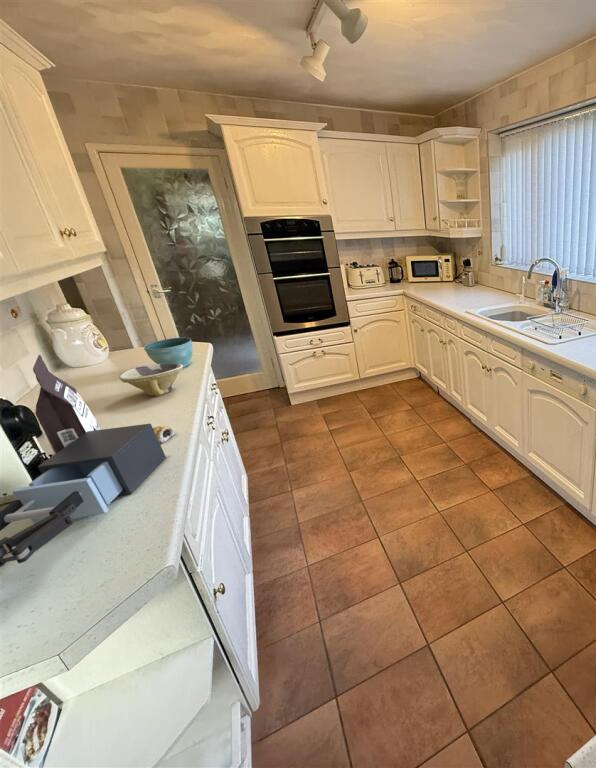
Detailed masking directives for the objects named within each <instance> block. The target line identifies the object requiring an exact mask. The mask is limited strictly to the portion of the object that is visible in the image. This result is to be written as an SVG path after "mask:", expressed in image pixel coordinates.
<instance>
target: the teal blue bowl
mask: <svg viewBox="0 0 596 768" xmlns="http://www.w3.org/2000/svg"><path fill="white" fill-rule="evenodd" d="M143 349H144V351H145V352H146V355H147V356H148V358H150V359H151V360H152V362H153V363H154V364H162V363H176V364H182V365H183V368H185V367H188V366H190V364H191V360H192V357H193V355H194V347H193V343H192V339H191V338H190V337H172V338H171V337H170V338H165V339H161V340H156V341H153V342H149V343H147V344H146V345H144V346H143Z"/></svg>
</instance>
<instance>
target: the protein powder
mask: <svg viewBox="0 0 596 768" xmlns="http://www.w3.org/2000/svg"><path fill="white" fill-rule="evenodd" d="M32 372H33V373H34V375H35V379H36V381H37V383H38V385H39V387H40V389H39V394H38V398H37V401H36V404H35V416H36V419H37V420H38V422H39V424H40V426H41V428H42V429H43V431H44V435H45V436H46V439H47V441H48V444H49V445H50V448H51V450H52V451H53V455H55V454H56V453H57V452H59V451H60V450H62V449H63V448H65V447H66V446H67V445H69V444H70V443H72V442H73V441H75V440H76V439H77V438H79V437H80V436H82V435H83V434H85V433H86V432H87V431H95V430H102V428H101V426H100V425H99V422H98V421H97V419H96V418H95V416H94V414H93V413H92V411H91V409H90V408H89V406H88V405H87V404H86V402H85V401H84V399H83V398H82V396H81V395H80V394H79V393H78V390H77V388H75V387H74V386H72V385H70V384H69V383H68V382H66V381H65V380H63V379H61V378H60V377H57V375H55V374H53V373H52V372H51V371H49V368H48V367H47V364H46V363H45V361H44V360H43V357H42V355H41V354H38V356H37V358H36V360H35V363H34V365H33V367H32Z"/></svg>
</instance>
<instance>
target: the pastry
mask: <svg viewBox="0 0 596 768" xmlns="http://www.w3.org/2000/svg"><path fill="white" fill-rule="evenodd" d="M152 428H153V430H154V432H155V434H156V436H157V439H158V441H159V443H160V444H164V443H165V442H166V441H168V440H169V439H170V438H172V436H174V435H175V434H176V430H175V428H174V427H172V426H169V425H166V426H160V425H158V426H155V427H152Z"/></svg>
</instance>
